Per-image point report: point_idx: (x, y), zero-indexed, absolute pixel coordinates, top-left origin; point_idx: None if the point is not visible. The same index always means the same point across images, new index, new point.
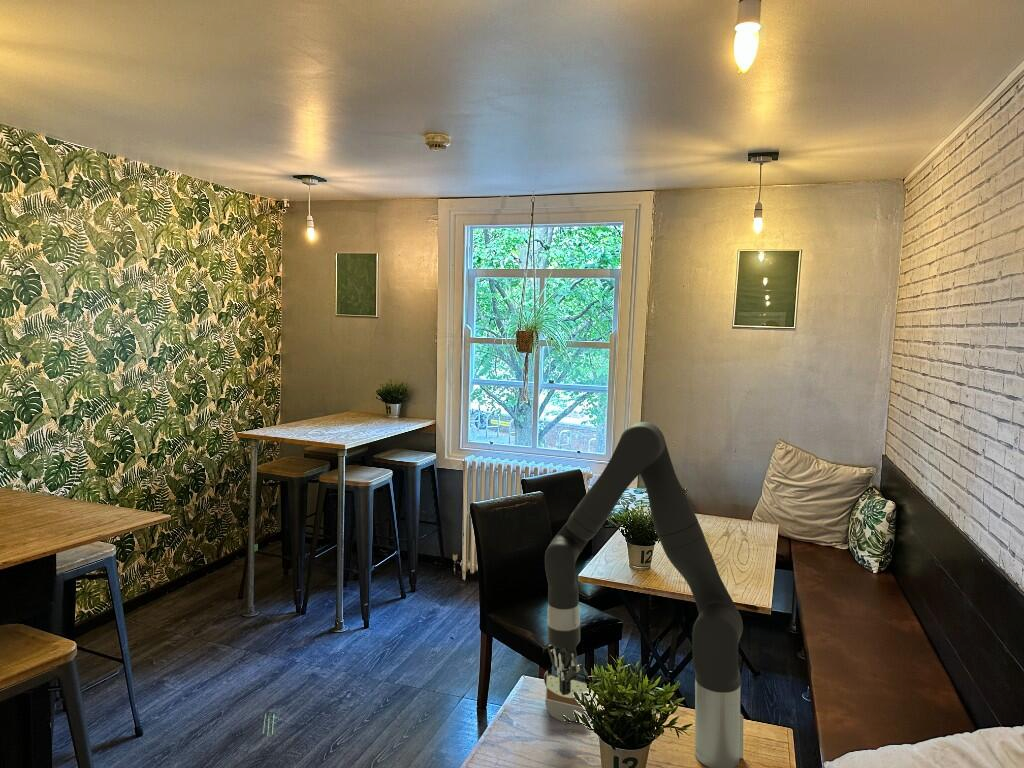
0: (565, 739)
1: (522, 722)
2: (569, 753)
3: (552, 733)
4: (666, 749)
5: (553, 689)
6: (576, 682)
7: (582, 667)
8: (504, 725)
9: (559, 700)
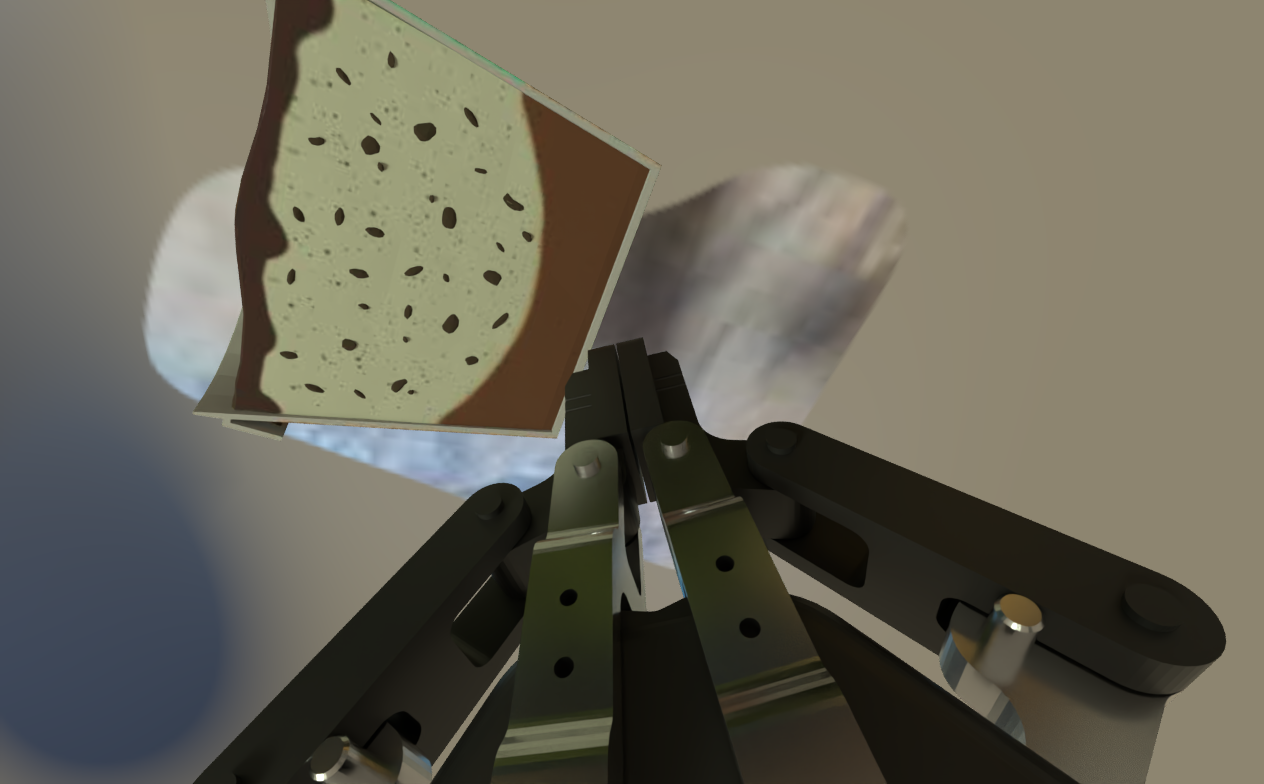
0: (726, 294)
1: (536, 445)
2: (831, 303)
3: (657, 342)
4: None
5: (448, 380)
6: (311, 147)
7: (1205, 612)
8: None
9: (565, 351)
